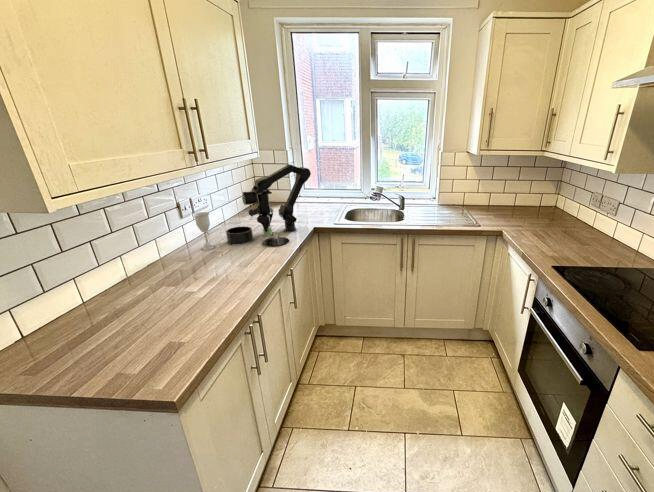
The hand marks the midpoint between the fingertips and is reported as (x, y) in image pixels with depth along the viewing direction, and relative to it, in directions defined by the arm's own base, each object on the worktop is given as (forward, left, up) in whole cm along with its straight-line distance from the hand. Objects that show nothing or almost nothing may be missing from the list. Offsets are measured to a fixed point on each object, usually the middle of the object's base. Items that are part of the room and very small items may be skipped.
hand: (267, 229), depth 179 cm
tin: (+8, -13, -4) cm, 16 cm away
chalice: (+16, -27, -4) cm, 32 cm away
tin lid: (+14, +6, -3) cm, 15 cm away
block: (0, 0, -4) cm, 4 cm away
